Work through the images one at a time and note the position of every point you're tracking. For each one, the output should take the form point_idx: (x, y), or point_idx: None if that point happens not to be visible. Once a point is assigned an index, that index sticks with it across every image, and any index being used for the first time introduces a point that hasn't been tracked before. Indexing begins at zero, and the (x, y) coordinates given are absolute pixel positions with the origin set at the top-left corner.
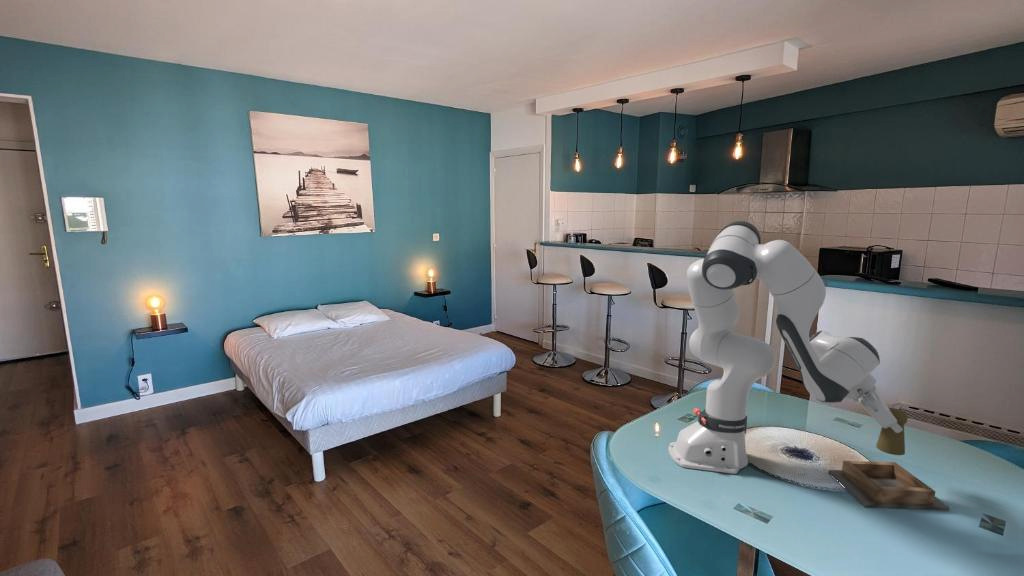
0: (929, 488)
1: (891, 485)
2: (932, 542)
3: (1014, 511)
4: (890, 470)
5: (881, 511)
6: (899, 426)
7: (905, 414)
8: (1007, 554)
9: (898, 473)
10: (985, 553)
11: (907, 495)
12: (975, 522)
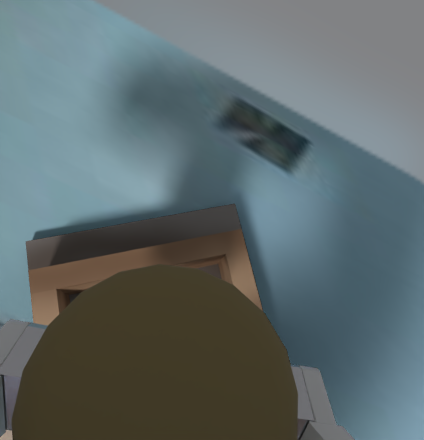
0: (225, 238)
1: None
2: (417, 331)
3: (182, 51)
4: (64, 301)
5: None
6: (327, 404)
7: (239, 306)
8: (391, 176)
9: (93, 284)
10: (409, 222)
11: None
12: (271, 170)
